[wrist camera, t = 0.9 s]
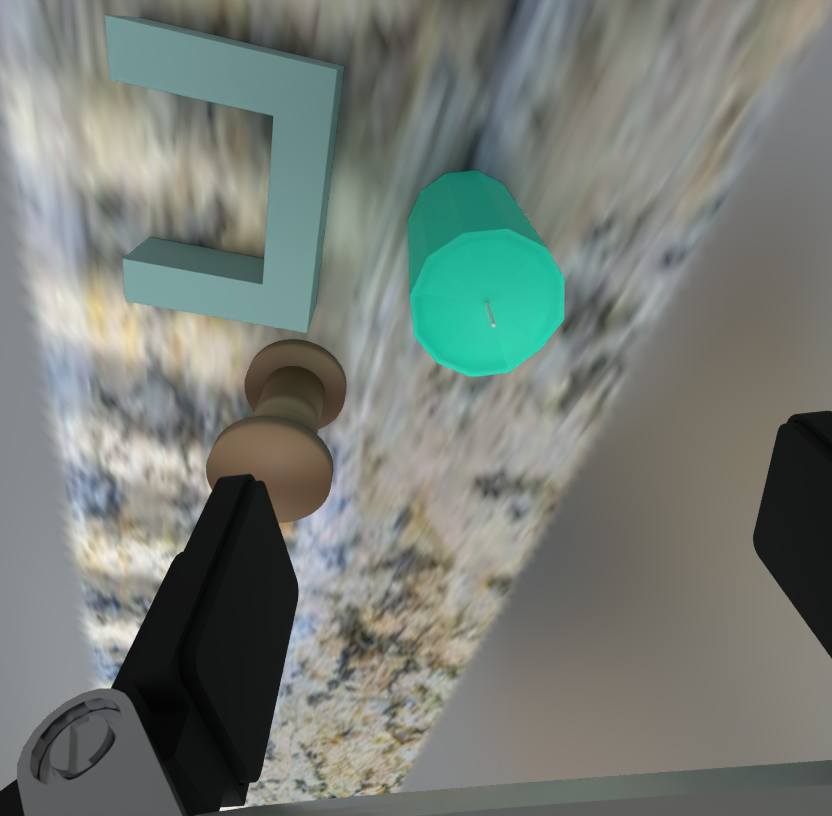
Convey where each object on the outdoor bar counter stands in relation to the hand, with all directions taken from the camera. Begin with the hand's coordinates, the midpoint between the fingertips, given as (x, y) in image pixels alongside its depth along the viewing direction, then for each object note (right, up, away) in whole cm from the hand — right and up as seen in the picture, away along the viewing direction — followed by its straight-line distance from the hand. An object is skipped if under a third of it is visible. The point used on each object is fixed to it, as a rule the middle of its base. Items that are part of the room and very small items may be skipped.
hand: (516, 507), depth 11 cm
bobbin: (-9, +3, +25) cm, 27 cm away
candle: (+1, +11, +20) cm, 23 cm away
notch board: (-11, +13, +18) cm, 25 cm away
